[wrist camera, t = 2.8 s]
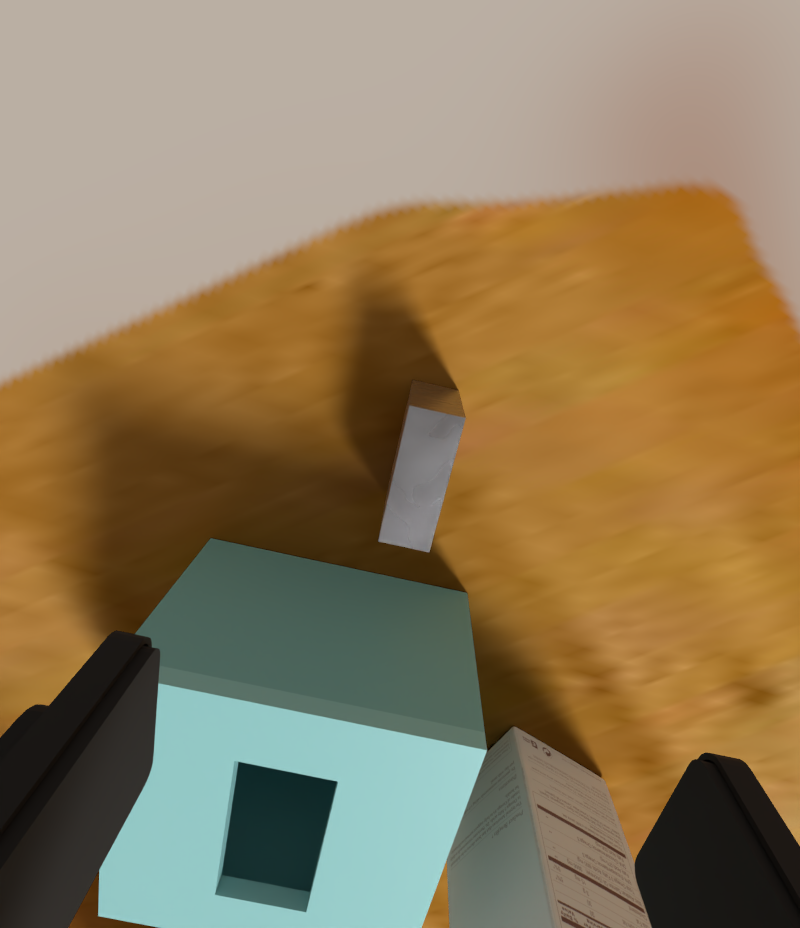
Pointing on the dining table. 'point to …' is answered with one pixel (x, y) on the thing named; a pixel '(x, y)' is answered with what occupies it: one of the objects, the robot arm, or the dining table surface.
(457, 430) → the grey metal block
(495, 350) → the dining table surface
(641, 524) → the dining table surface
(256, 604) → the coin box
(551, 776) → the supplement box
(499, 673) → the dining table surface
